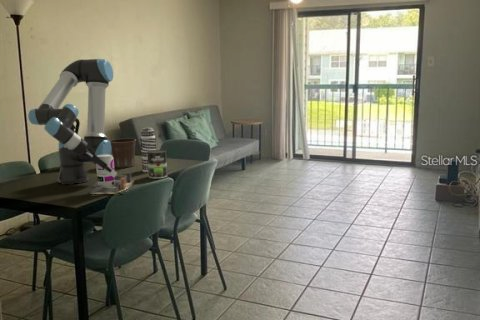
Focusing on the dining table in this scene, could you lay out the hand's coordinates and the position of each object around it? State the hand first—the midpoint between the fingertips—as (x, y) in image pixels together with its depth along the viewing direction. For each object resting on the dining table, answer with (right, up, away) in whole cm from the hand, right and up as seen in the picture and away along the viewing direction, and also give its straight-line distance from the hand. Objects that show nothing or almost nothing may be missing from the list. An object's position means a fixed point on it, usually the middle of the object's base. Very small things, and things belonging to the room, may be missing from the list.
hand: (112, 173), depth 230 cm
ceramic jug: (-40, +2, +64) cm, 75 cm away
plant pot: (-9, +3, +62) cm, 62 cm away
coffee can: (+17, -3, +30) cm, 34 cm away
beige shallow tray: (-1, -7, +7) cm, 10 cm away
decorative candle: (+9, 0, +46) cm, 47 cm away
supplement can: (-3, -6, -1) cm, 7 cm away
